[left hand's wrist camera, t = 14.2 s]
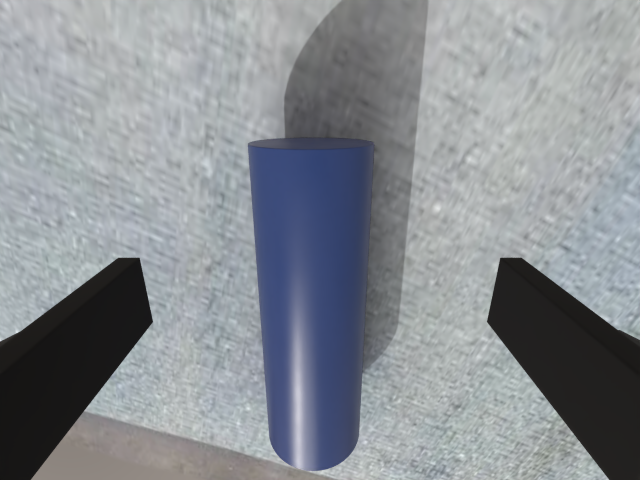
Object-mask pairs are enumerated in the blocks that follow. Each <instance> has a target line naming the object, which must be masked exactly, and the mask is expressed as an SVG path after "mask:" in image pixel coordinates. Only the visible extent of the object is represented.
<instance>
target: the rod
mask: <svg viewBox="0 0 640 480" xmlns="http://www.w3.org/2000/svg"><path fill="white" fill-rule="evenodd" d="M248 153H249V166H250V180H251V193H252V207H253V221H254V234H255V248H256V261H257V275H258V288H259V302H260V316H261V329H262V343H263V356H264V370H265V384H266V397H267V411H268V424H269V437H270V442H271V445H272V447H273V449H274V451H275V452H276V453H277V455H278V456H279V457H280V458H281V459H282V460H283V461H284V462H286V463H287V464H289V465H291V466H293V467H295V468H298V469H302V470H307V471H319V470H325V469H329V468H331V467H334V466H336V465H338V464H340V463H341V462H342V461H344V460H345V459H346V458H347V457H348V456H349V455H350V454H351V453H352V451H353V450H354V448H355V446H356V444H357V441H358V437H359V424H360V405H361V386H362V367H363V348H364V330H365V311H366V292H367V273H368V254H369V235H370V216H371V197H372V178H373V159H374V143H373V142H371V141H366V140H358V139H345V138H282V139H267V140H259V141H253V142H250V143H248Z"/></svg>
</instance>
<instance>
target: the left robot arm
mask: <svg viewBox="0 0 640 480" xmlns="http://www.w3.org/2000/svg"><path fill="white" fill-rule="evenodd" d="M152 322H153V320H152V315H151V310H150V305H149V301H148V296H147V291H146V286H145V281H144V277H143V272H142V267H141V262H140V258H118V259H116V260H115V261H114V262H112V263H111V264H110V265H108V266H107V267H106V268H104V269H103V270H102V271H100V272H99V273H98V274H96V275H95V276H94V277H92V278H91V279H90V280H88V281H87V282H86V283H84V284H83V285H82V286H80V287H79V288H78V289H76V290H75V291H74V292H72V293H71V294H70V295H68V296H67V297H66V298H64V299H63V300H62V301H60V302H59V303H58V304H56V305H55V306H54V307H52V308H51V309H50V310H48V311H47V312H46V313H44V314H43V315H42V316H40V317H39V318H38V319H36V320H35V321H34V322H32V323H31V324H30V325H29V326H27V327H26V328H25V329H23V330H22V331H20V332H18V333H16V334H14V335H12V336H11V337H9V338H7V339H5V340H3V341H1V342H0V480H31V479H32V477H33V476H34V475H35V473H36V472H37V471H38V470H39V468H40V467H41V466H42V464H43V463H44V462H45V461H46V459H47V458H48V457H49V455H50V454H51V453H52V452H53V450H54V449H55V448H56V446H57V445H58V444H59V442H60V441H61V440H62V439H63V437H64V436H65V435H66V433H67V432H68V431H69V430H70V428H71V427H72V426H73V424H74V423H75V422H76V421H77V419H78V418H79V417H80V415H81V414H82V413H83V412H84V410H85V409H86V408H87V406H88V405H89V404H90V402H91V401H92V400H93V399H94V397H95V396H96V395H97V393H98V392H99V391H100V390H101V388H102V387H103V386H104V384H105V383H106V382H107V381H108V379H109V378H110V377H111V375H112V374H113V373H114V372H115V370H116V369H117V368H118V366H119V365H120V364H121V362H122V361H123V360H124V359H125V357H126V356H127V355H128V353H129V352H130V351H131V350H132V348H133V347H134V346H135V344H136V343H137V342H138V341H139V339H140V338H141V337H142V335H143V334H144V333H145V331H146V330H147V329H148V328H149V326H150V325H151V324H152ZM487 322H488V324H489V325H490V326H491V328H492V329H493V330H494V331H495V333H496V334H497V335H498V337H499V338H500V339H501V341H502V342H503V343H504V344H505V346H506V347H507V348H508V350H509V351H510V352H511V353H512V355H513V356H514V357H515V359H516V360H517V361H518V362H519V364H520V365H521V366H522V368H523V369H524V370H525V372H526V373H527V374H528V375H529V377H530V378H531V379H532V381H533V382H534V383H535V384H536V386H537V387H538V388H539V390H540V391H541V392H542V393H543V395H544V396H545V397H546V399H547V400H548V401H549V402H550V404H551V405H552V406H553V408H554V409H555V410H556V412H557V413H558V414H559V415H560V417H561V418H562V419H563V421H564V422H565V423H566V424H567V426H568V427H569V428H570V430H571V431H572V432H573V433H574V435H575V436H576V437H577V439H578V440H579V441H580V442H581V444H582V445H583V446H584V448H585V449H586V450H587V452H588V453H589V454H590V455H591V457H592V458H593V459H594V461H595V462H596V463H597V464H598V466H599V467H600V468H601V470H602V471H603V472H604V473H605V475H606V476H607V477H608V479H609V480H640V340H638V339H636V338H634V337H632V336H630V335H628V334H626V333H625V332H623V331H621V330H617V329H615V328H614V327H613V326H611V325H610V324H609V323H608V322H606V321H605V320H604V319H602V318H601V317H600V316H598V315H597V314H596V313H594V312H593V311H592V310H590V309H589V308H588V307H586V306H585V305H584V304H582V303H581V302H580V301H578V300H577V299H576V298H574V297H573V296H572V295H570V294H569V293H568V292H566V291H565V290H564V289H562V288H561V287H560V286H558V285H557V284H556V283H554V282H553V281H552V280H550V279H549V278H548V277H546V276H545V275H544V274H542V273H541V272H540V271H538V270H537V269H536V268H534V267H533V266H532V265H530V264H529V263H528V262H526V261H525V260H524V259H522V258H500V262H499V267H498V272H497V277H496V281H495V286H494V291H493V296H492V301H491V305H490V310H489V315H488V320H487Z"/></svg>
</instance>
